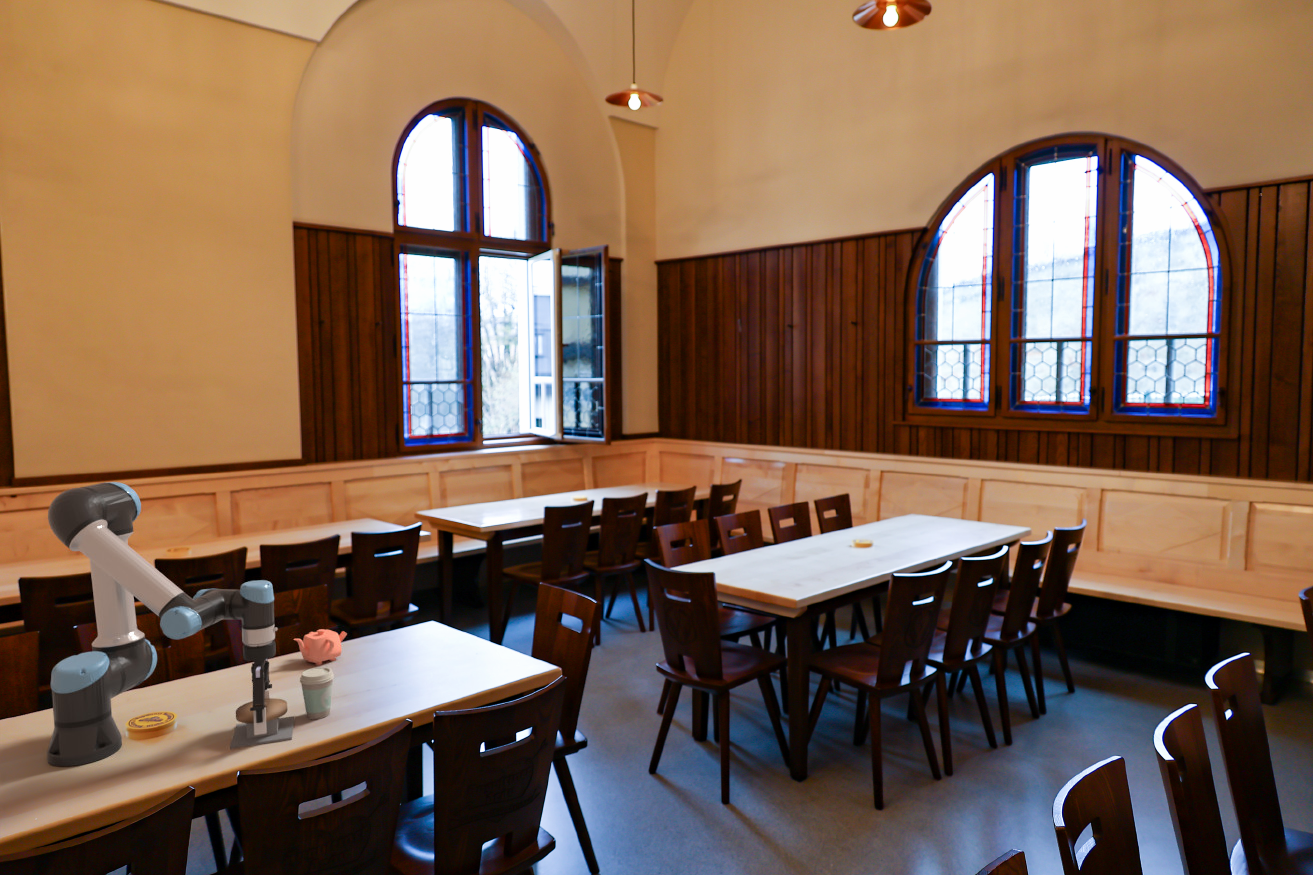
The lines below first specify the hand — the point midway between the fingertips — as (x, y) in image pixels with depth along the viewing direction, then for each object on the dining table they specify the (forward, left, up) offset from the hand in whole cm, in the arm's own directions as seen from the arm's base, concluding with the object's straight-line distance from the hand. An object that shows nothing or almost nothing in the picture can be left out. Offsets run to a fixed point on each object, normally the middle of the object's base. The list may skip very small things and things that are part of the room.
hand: (262, 723), depth 215 cm
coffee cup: (+13, +7, -3) cm, 15 cm away
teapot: (+13, +53, -3) cm, 55 cm away
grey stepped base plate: (0, 0, -2) cm, 2 cm away
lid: (0, 0, +3) cm, 3 cm away
